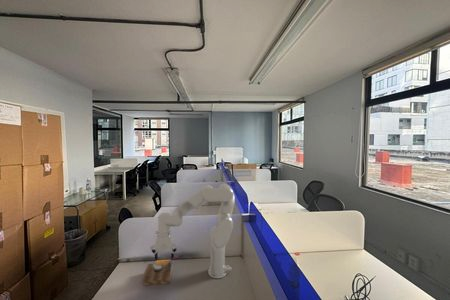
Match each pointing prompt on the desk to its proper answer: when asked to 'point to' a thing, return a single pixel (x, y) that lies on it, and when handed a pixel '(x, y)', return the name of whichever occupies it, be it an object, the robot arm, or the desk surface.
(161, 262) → the bar
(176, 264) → the desk surface
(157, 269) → the silver rounded cylinder
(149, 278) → the hitch block
